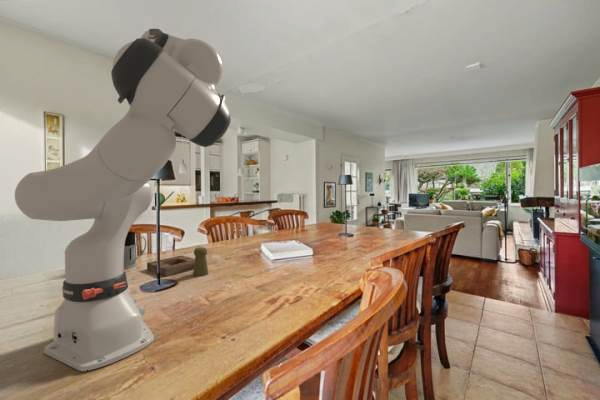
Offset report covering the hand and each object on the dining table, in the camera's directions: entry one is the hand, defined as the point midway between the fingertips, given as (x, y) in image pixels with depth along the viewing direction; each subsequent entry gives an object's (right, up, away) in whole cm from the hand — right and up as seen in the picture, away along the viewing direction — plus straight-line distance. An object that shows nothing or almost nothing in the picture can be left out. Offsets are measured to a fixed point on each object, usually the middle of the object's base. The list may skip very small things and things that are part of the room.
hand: (149, 123), depth 93 cm
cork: (+12, -57, +17) cm, 61 cm away
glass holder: (-23, -57, +27) cm, 67 cm away
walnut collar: (-3, -57, +25) cm, 62 cm away
